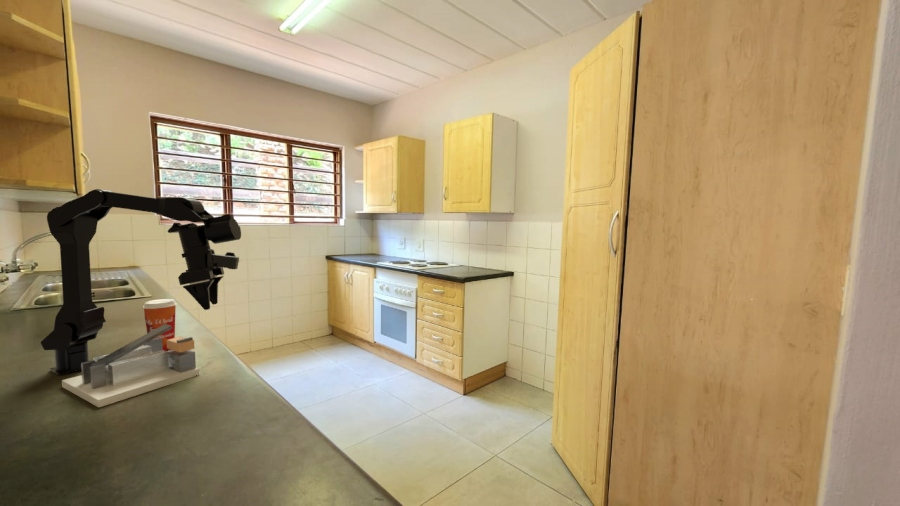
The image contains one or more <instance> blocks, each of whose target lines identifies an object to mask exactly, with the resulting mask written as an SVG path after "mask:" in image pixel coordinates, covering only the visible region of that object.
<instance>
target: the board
mask: <svg viewBox="0 0 900 506" xmlns="http://www.w3.org/2000/svg"><path fill="white" fill-rule="evenodd" d="M196 375H197V376H199V375H200V368H198V367H196V368H195V369H191V370H188V371H185V372H182V373H180V372H177V371H174V370H172V369H169V371H165V372H162V373H158V374H155V375H152V376H148V377H145V378H142V379H138V380H135V381H131V382H128V383H125V384H121V385H118V386H115V387H113V386H111V385H109V384H107V383H106V386H103V387H100V388H96V389H92V387H91V383H88V384H82V374H80V375H76V376H73V377H68V378H66V379H62V380H61V387H62V388H63V389H65V390H67V391H69V392H70V393H72V394H74V395H76V396H78V397H79V398H81V399H82V400H84V401H87V402H88V403H90V404H92V405H93V406H95V407H97V408H101V407H105V406H107V405H111V404H113V403H117V402H119V401H123V400H126V399H129V398H133V397H136V396H138V395H141V394H145V393H148V392H151V391H154V390H157V389H160V388H164V387H166V386H168V385H172V384H176V383H178V382H181V381H184V380H188V379H191V378H193V377H194V378H195V377H196Z"/></svg>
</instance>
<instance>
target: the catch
mask: <svg viewBox="0 0 900 506" xmlns="http://www.w3.org/2000/svg"><path fill="white" fill-rule="evenodd" d="M167 348H168V349H171V350H174V351H177V352H184V351H187V350H191V351H192V350H194V349H195V339H194V338H193V337H192V336H189V337H183V336H177V337H175V338H173V339H169V340H167Z"/></svg>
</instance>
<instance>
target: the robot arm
mask: <svg viewBox="0 0 900 506" xmlns="http://www.w3.org/2000/svg"><path fill="white" fill-rule="evenodd" d="M113 208H117V209H118V208H119V209H124V210H133V211H138V212H139V211H140V212H146V213H147V212H148V213H153V214H157V215H160V216H162V217H165V218H168V219H171V220H175V221H179V222H173V224H172V226H170V228H169V229H168V230H167V232H168V233H169V234H175V233H176V234H177V233H178V236H179V240H180V245H181V248H182V253H181V258H182V259H183V258H184V260H185V262H186V263H185V264H186V267H187V269H185V271H184V272H181V273H180V275H179V276H178V277H177V279H178V283H179V285H180V286H182V285H183V286H182V288H183V289H185V290H186V291H187V292H188V293H189V295H190V296H191V297H192V298H193V299H194V300H195V301H196V302H197V303H198V304H199V305H200V307H202V309H203V310H204V311H207V310H210V309H211V304H212V306H213V305H217V304H218V301H219V299H218V298H219V283H220V282H221V280H222V279H223V278H224V275H225V271H224V269H225V268H226V269H228V270H237V269H238V266H239V263H240V256H236V254H235V252H230V251H227V252H226V253H225V254H216V253H215V249H213V248H211V245H210V241H211V242H212V243H213V244H214V245H217V244H221V243H222V244H223V243H227V242H233V241H238V240H240V239H241V238H242V230H241V229H242V228H241V227H240V225H239V223H238V222H237V220H236V218H235V217H234V214H232V213H231V214H230V213H227V214H222V215H220V216H219V215H218V216H213V214H211V213H209V212H208V210H206V209H205V207H204V205H203V203H202V202H201V201H200V200H198V199H194V198H186V197H179V196H177V197H156V198H155V197H149V196H142V195H141V196H140V195H136V194H134V195H133V194H130V193H129V194H127V193H121V192H114V191H112V190H106V189H99V188H96V189H92V190H90V191H88V192H87V193H85V194H84V195H82V196H79V197H77V198H75V199H72V200H70V201H67V202H64V204H62V205H60V206H56V207H54V208H52V209H51V210H50V211H48V212H47V214H46V221H47V225H48V229H49V233H50V234H51V235H52V237H53V238H54V239H55V240H56V241H57V243H58V244H59V252H60V253H59V254H60V270H61V272H60V273H61V286H62V288H61V289H62V290H61V291H62V305H61V307H60V309H59V310H58V312H57V313H56V315H55V318H54V326H53V330H52V331H51V332H50V333H49V334H48V335H47V336H45V338H44V339H42V340H41V341H40V344H41V347H42V348H43V349H42V350H43V351H54V364H55V366H54V367H50V368H49V371H50V372H51V373H54V374H55V375H57V376H61V375H66V374H70V373H74V372H77V371H82V370H81V363H83V362H87V361H90V360H89V359H90V357H89V343H88V342H89V341H91V340H95V339H96V338H97V335H98V333H99V332H100V330H101V329H103V326H104V323H106V318H105V307H104V306H97V305H96V304H95V303H94V302H93V294H92V278H91V276H92V275H91V259H90V243H91V241H92V240H93V238H94V237H95V235H96V233H97V229H98V222H99V221H101V220H103V219H104V218H105V217H106V216H107V215H108V214H109V213H110V210H111V209H113ZM180 222H191V223H185V224H182V223H180ZM197 223H198V224H200V225H198V224H197ZM201 223H202V225H201Z"/></svg>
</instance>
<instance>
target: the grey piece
mask: <svg viewBox="0 0 900 506" xmlns="http://www.w3.org/2000/svg"><path fill="white" fill-rule="evenodd" d="M109 354H110V353H108V354H104V355H99V356H95V357H92V360H89V361H87V362H83V363H81V370H80V371H81V375H82V384H88V383H91V387H92V389H96V388H100V387H103V386H106V383H107V384H109V385H111V386H113V387H115V386H118V385H121V384H125V383H128V382H131V381H135V380H138V379H142V378H145V377H148V376H152V375H155V374H158V373H162V372H165V371H169V369H172V370H174V371H177V372H180V373H182V372H185V371H188V370H191V369H195V368H197V367H196V366H197V364H196V351H193V350H192V349H191V350H187V351H184V352H177V351H174V350H168V351H164V350H163V347H162V338H160V337H156V338H154V339H153V340H151V341H149V342H147V343H145V344H144V345H142V346H140V347H138V348H137V349H135V350H133V351H131V352H130V353H128V354H126V355H124V356H122V357H121V358H119V359H117V360H115V361H114V362H112V363H110V364H108V365H106V366H105V365H104V364H101V365H97V366H93V367H91V365H90V364H92V363H94V362H96V361H98V360H100V359H101V358H103V357H105V356H107V355H109Z"/></svg>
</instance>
